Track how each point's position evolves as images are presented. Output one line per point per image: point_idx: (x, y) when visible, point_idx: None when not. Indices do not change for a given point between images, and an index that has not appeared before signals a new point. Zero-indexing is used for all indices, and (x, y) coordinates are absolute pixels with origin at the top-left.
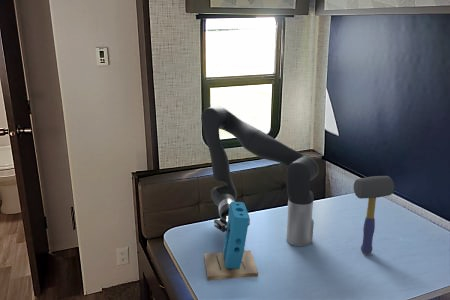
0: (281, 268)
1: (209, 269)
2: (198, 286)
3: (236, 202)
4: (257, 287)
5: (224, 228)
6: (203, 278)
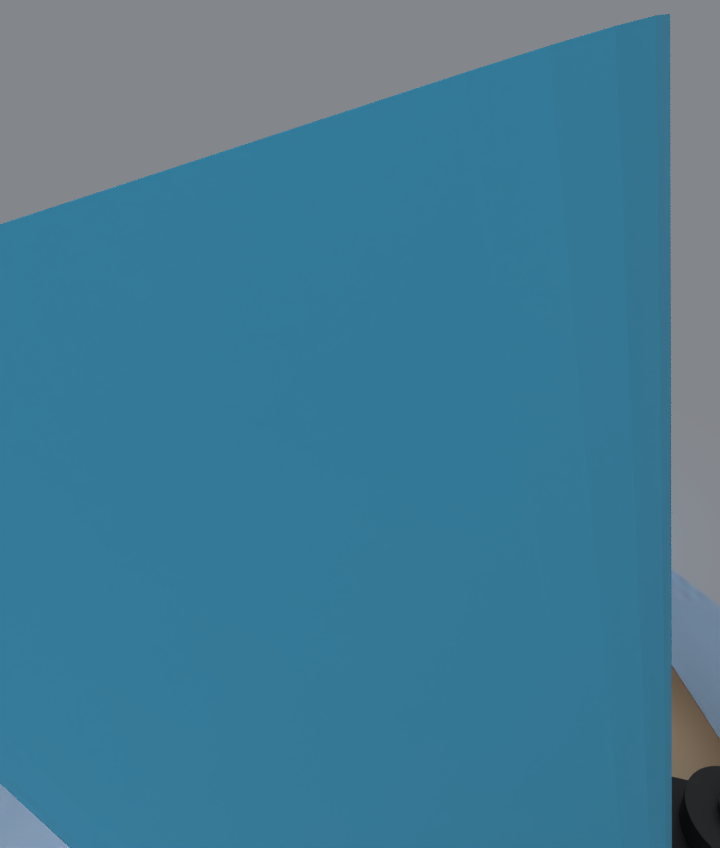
0: (38, 828)
1: (688, 737)
2: (688, 607)
3: (129, 188)
4: None
5: (674, 793)
6: (699, 690)
